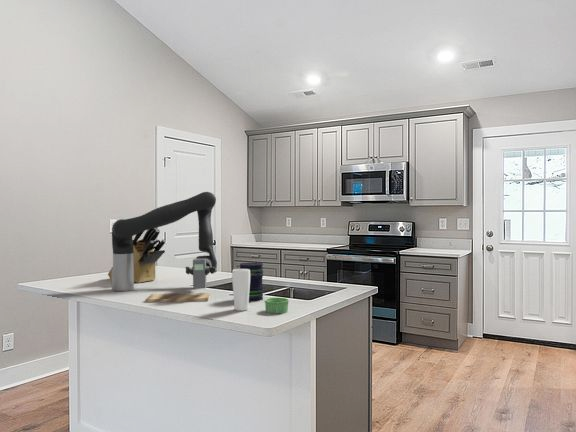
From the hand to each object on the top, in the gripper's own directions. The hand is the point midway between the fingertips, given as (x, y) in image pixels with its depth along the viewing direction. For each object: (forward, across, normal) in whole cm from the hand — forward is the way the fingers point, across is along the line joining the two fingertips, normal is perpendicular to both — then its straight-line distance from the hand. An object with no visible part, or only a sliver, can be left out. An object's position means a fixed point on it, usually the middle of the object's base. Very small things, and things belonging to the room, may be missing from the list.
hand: (199, 272), depth 191 cm
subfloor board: (-2, -9, +11) cm, 15 cm away
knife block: (-56, -38, +12) cm, 69 cm away
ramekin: (+26, +31, +12) cm, 42 cm away
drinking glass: (+22, +18, +12) cm, 30 cm away
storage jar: (+2, +22, +12) cm, 25 cm away
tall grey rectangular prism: (-3, 0, +7) cm, 7 cm away
